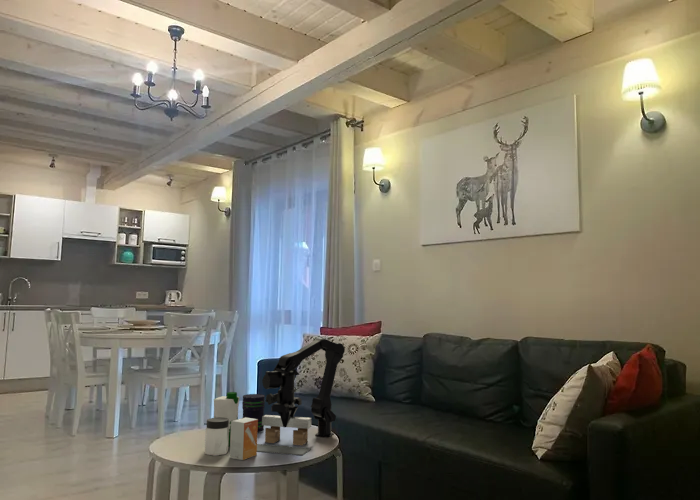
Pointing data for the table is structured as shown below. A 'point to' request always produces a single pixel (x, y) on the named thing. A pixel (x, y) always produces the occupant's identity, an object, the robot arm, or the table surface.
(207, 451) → the jar
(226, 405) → the milk carton
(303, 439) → the post
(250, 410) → the storage jar
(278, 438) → the post
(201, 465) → the table surface
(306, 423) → the long white bar
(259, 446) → the mat
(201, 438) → the table surface
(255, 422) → the small box
